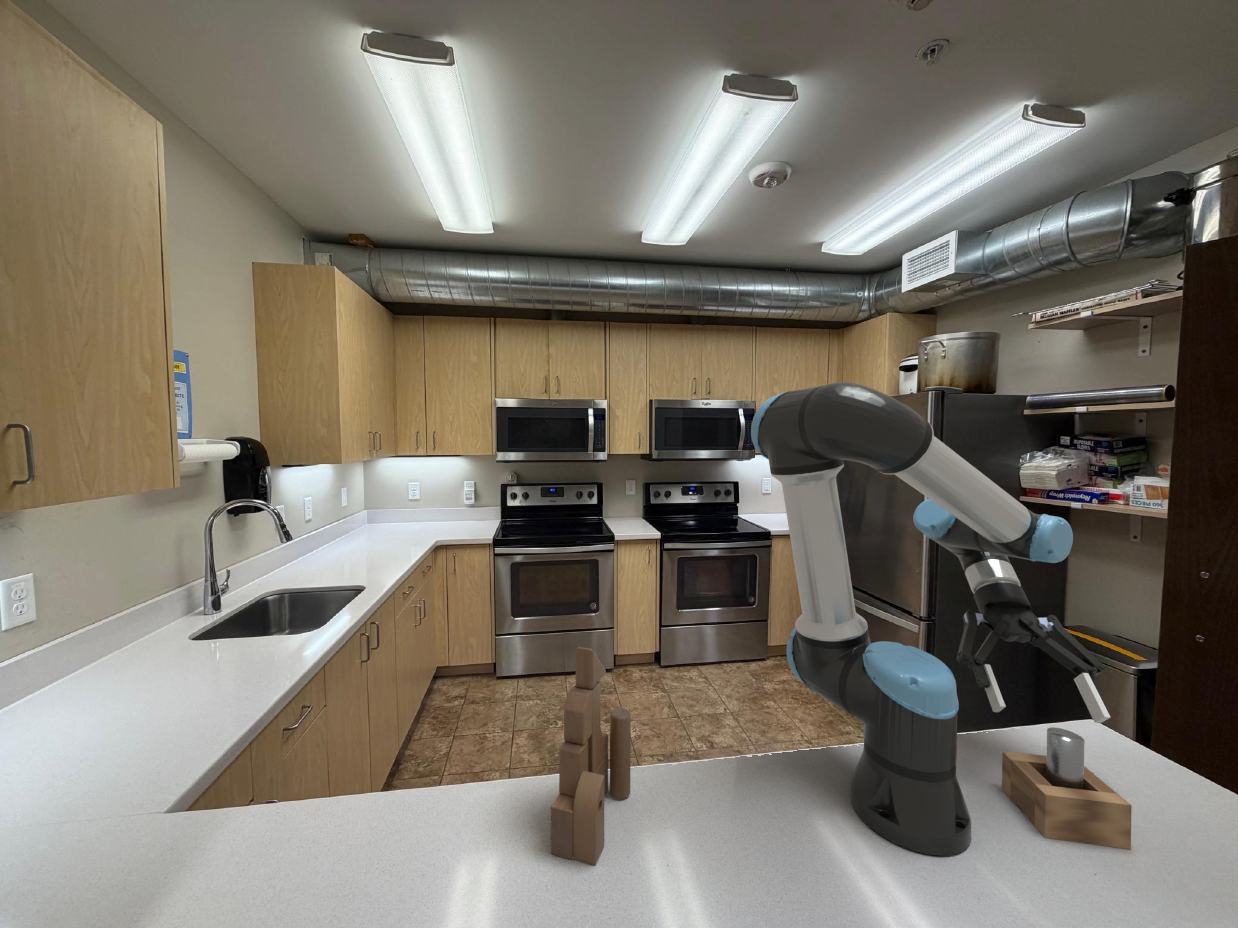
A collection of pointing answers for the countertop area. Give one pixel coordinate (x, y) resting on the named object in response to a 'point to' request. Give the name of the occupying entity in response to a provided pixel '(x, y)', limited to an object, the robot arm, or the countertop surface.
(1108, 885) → the countertop surface
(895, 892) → the countertop surface
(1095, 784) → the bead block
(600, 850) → the wooden toy
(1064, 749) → the silver metal peg
